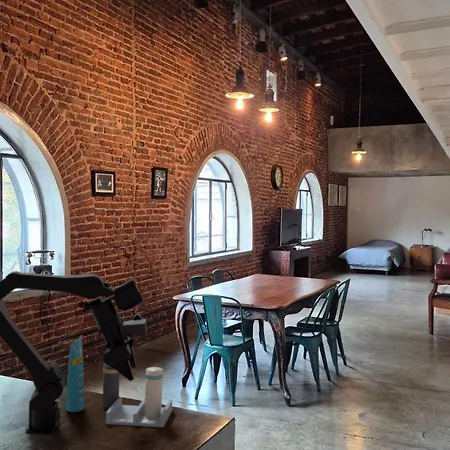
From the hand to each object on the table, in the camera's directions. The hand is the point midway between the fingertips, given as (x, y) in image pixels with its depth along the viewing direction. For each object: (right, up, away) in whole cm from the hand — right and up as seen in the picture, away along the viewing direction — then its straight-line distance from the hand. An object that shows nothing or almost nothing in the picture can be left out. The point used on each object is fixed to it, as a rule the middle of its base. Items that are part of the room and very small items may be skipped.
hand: (133, 373), depth 129 cm
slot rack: (+1, -13, +3) cm, 13 cm away
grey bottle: (-8, -12, +10) cm, 18 cm away
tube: (-17, -12, +8) cm, 23 cm away
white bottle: (+5, -12, +3) cm, 13 cm away
